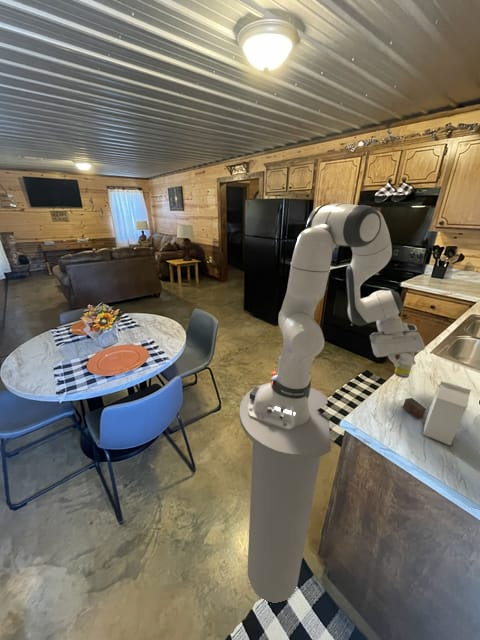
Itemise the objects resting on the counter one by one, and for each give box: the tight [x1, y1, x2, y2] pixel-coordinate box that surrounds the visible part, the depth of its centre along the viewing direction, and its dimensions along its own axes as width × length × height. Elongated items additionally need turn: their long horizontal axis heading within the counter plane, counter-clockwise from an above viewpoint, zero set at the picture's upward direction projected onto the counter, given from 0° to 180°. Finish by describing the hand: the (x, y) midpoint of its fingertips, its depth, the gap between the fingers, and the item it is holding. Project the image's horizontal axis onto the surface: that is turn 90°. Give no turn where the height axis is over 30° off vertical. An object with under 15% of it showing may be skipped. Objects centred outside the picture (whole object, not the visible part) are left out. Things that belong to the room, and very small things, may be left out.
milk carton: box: [423, 380, 472, 446], centre depth 82 cm, size 7×7×19 cm
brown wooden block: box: [402, 397, 427, 420], centre depth 94 cm, size 6×3×4 cm, turn 13°
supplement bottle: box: [394, 353, 413, 379], centre depth 96 cm, size 5×5×8 cm
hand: (405, 365), depth 96 cm, fingers closed on supplement bottle, 5 cm apart
